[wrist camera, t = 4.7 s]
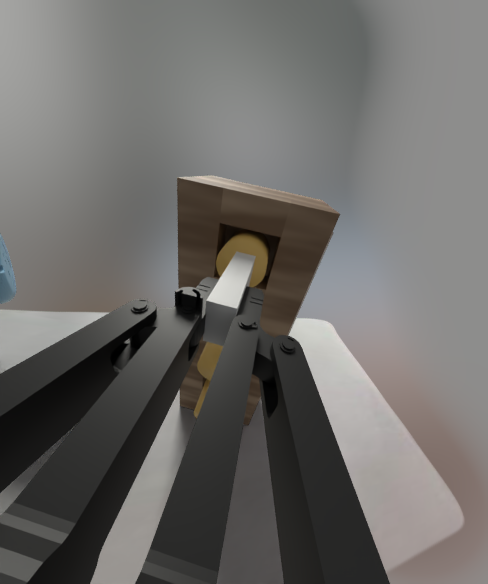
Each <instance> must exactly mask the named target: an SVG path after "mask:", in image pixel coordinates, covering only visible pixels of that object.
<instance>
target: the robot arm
mask: <svg viewBox="0 0 488 584" xmlns="http://www.w3.org/2000/svg"><path fill="white" fill-rule="evenodd" d="M255 258H256V256H253V255H249V254H245V253H241V252H236V253H235V255H234V256H233V258H232V260H231V261H230V263H229V265H228V266H227V268H226V269H225V271H224V273H223V274H222V276H221V277H220V279H219V280H218V279H215V278H211V277H207V278H205V279H203V280H202V281H201V282H200V283H199V285H198V286H197V287H196V288H194V287H182V288H179V289H177V290H176V291H175V306H174V308H156V304H155V303H154V302H153V301H152V300H148V299H137V300H133V301H131V302H129V303H127V304H125V305H123V306H121V307H120V308H118V309H116V310H114V311H112V312H111V313H109V314H107V315H105V316H103V317H102V318H100V319H98V320H96V321H94V322H93V323H91V324H89V325H87V326H86V327H84V328H82V329H80V330H78V331H77V332H75V333H73V334H71V335H69V336H68V337H66V338H64V339H62V340H60V341H59V342H57V343H55V344H53V345H51V346H50V347H48V348H46V349H44V350H42V351H41V352H39V353H37V354H35V355H33V356H32V357H30V358H28V359H26V360H25V361H23V362H21V363H19V364H17V365H16V366H14V367H12V368H10V369H8V370H7V371H5V372H3V373H1V374H0V492H2V491H3V490H4V489H5V488H6V487H7V486H8V485H9V484H10V483H11V482H13V481H14V480H15V479H16V478H17V477H18V476H19V475H20V474H21V473H23V472H24V471H25V470H26V469H27V468H28V467H29V466H30V465H31V464H32V463H34V462H35V461H36V460H37V459H38V458H39V457H40V456H41V455H42V454H44V453H45V452H46V451H47V450H48V449H49V448H50V447H51V446H52V445H53V444H55V443H56V442H57V441H58V440H59V439H60V438H61V437H62V436H63V435H65V434H66V433H67V432H68V431H69V430H70V429H71V428H72V427H73V426H74V425H76V424H77V423H78V422H79V421H80V420H81V421H80V422H79V423H78V424H77V425H76V427H75V428H74V429H73V430H72V432H71V433H70V434H69V435H68V436H67V438H66V439H65V440H64V441H63V442H62V444H61V445H60V446H59V447H58V449H57V450H56V451H55V452H54V453H53V455H52V456H51V457H50V458H49V459H48V461H47V462H46V463H45V464H44V466H43V467H42V468H41V469H40V470H39V472H38V473H37V474H36V475H35V477H34V478H33V479H32V480H31V481H30V483H29V484H28V485H27V486H26V487H25V489H24V490H23V491H22V492H21V494H20V495H19V496H18V497H17V498H16V500H15V501H14V502H13V503H12V504H11V505H10V506H9V508H8V509H7V510H6V511H5V512H4V513H3V514H2V515H0V584H90V582H91V580H92V577H93V575H94V572H95V569H96V566H97V562H98V558H99V555H100V552H101V549H102V547H103V545H104V542H105V540H106V538H107V536H108V534H109V532H110V530H111V528H112V526H113V524H114V522H115V520H116V518H117V515H118V513H119V511H120V509H121V507H122V505H123V503H124V501H125V499H126V497H127V495H128V493H129V491H130V489H131V487H132V485H133V483H134V481H135V479H136V477H137V474H138V472H139V470H140V468H141V466H142V464H143V462H144V460H145V458H146V456H147V454H148V452H149V450H150V448H151V446H152V444H153V442H154V440H155V438H156V436H157V433H158V431H159V429H160V427H161V425H162V423H163V421H164V419H165V417H166V415H167V413H168V411H169V409H170V407H171V405H172V403H173V401H174V399H175V397H176V395H177V392H178V390H179V388H180V386H181V384H182V382H183V380H184V378H185V376H186V374H187V372H188V370H189V368H190V366H191V364H192V362H193V360H194V358H195V356H196V354H197V351H198V349H199V346H200V340H201V338H202V336H203V341H206V342H210V343H214V344H217V345H221V346H223V348H222V351H221V354H220V356H219V359H218V362H217V365H216V367H215V370H214V373H213V376H212V378H211V381H210V384H209V387H208V389H207V392H206V395H205V398H204V401H203V403H202V406H201V409H200V412H199V414H198V417H197V420H196V423H195V425H194V428H193V431H192V434H191V436H190V439H189V442H188V445H187V448H186V450H185V453H184V456H183V459H182V461H181V464H180V467H179V470H178V472H177V475H176V478H175V481H174V483H173V486H172V489H171V492H170V495H169V497H168V500H167V503H166V506H165V508H164V511H163V514H162V517H161V519H160V522H159V525H158V528H157V530H156V533H155V536H154V539H153V541H152V544H151V547H150V550H149V552H148V555H147V558H146V560H145V563H144V565H143V568H142V570H141V572H140V575H139V577H138V579H137V581H136V583H135V584H216V583H217V576H218V570H219V564H220V558H221V553H222V547H223V541H224V535H225V529H226V523H227V517H228V511H229V506H230V500H231V494H232V488H233V482H234V476H235V470H236V464H237V458H238V453H239V447H240V441H241V435H242V429H243V423H244V417H245V411H246V405H247V400H248V394H249V388H250V382H251V376H252V374H253V375H255V376H256V377H258V378H259V384H260V392H261V400H262V408H263V416H264V424H265V432H266V440H267V448H268V456H269V465H270V473H271V481H272V489H273V497H274V505H275V513H276V521H277V529H278V537H279V546H280V554H281V562H282V570H283V578H284V584H390V583H389V580H388V577H387V575H386V572H385V569H384V567H383V564H382V561H381V559H380V556H379V553H378V551H377V548H376V545H375V543H374V540H373V537H372V534H371V532H370V529H369V526H368V524H367V521H366V518H365V516H364V513H363V510H362V508H361V505H360V502H359V500H358V497H357V494H356V492H355V489H354V486H353V484H352V481H351V478H350V475H349V473H348V470H347V467H346V465H345V462H344V459H343V457H342V454H341V451H340V449H339V446H338V443H337V441H336V438H335V435H334V433H333V430H332V427H331V425H330V422H329V419H328V417H327V414H326V411H325V408H324V406H323V403H322V400H321V398H320V395H319V392H318V390H317V387H316V384H315V382H314V379H313V376H312V374H311V371H310V368H309V366H308V363H307V360H306V358H305V355H304V352H303V349H302V347H301V345H300V344H299V342H298V341H296V340H295V339H294V338H292V337H290V336H287V335H278V336H276V337H275V338H274V337H272V336H270V335H269V334H267V333H266V332H265V331H264V330H263V329H262V328H261V326H260V317H261V311H262V305H263V300H264V294H263V291H262V290H260V289H256V288H252V287H249V284H250V279H251V275H252V271H253V266H254V262H255ZM15 294H16V283H15V277H14V272H13V269H12V264H11V261H10V257H9V254H8V251H7V248H6V245H5V243H4V240H3V238H2V236H1V234H0V304H2V303H6V302H8V301H10V300H12V299H13V297H14V296H15ZM128 339H129V340H128ZM126 340H127V341H126Z"/></svg>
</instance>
